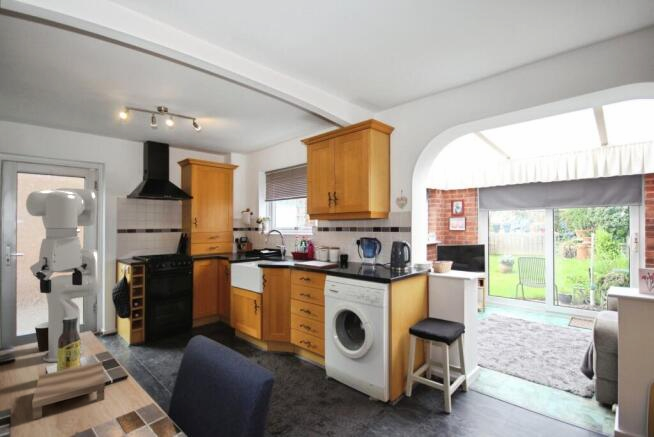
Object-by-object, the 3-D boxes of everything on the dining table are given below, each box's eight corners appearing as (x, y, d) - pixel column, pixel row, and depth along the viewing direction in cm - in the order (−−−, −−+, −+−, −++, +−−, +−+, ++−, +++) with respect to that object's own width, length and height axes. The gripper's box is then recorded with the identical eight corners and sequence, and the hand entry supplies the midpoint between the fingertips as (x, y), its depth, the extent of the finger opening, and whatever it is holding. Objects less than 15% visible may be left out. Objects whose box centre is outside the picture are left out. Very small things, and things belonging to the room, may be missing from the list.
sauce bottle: (66, 381, 106) (66, 321, 105) (51, 379, 107) (51, 320, 107) (85, 371, 112) (85, 315, 112) (71, 370, 113) (70, 314, 113)
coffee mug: (39, 354, 126) (39, 329, 126) (31, 349, 131) (31, 325, 131) (74, 344, 136) (74, 321, 136) (66, 340, 141) (66, 317, 141)
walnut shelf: (39, 391, 100) (39, 375, 100) (101, 375, 109) (101, 361, 109) (32, 420, 85) (32, 401, 85) (104, 399, 95) (104, 382, 95)
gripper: (78, 231, 107) (78, 281, 107) (20, 235, 90) (20, 295, 90) (97, 232, 105) (97, 283, 106) (42, 236, 88) (42, 297, 89)
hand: (62, 288), depth 98 cm, fingers open, 9 cm apart
